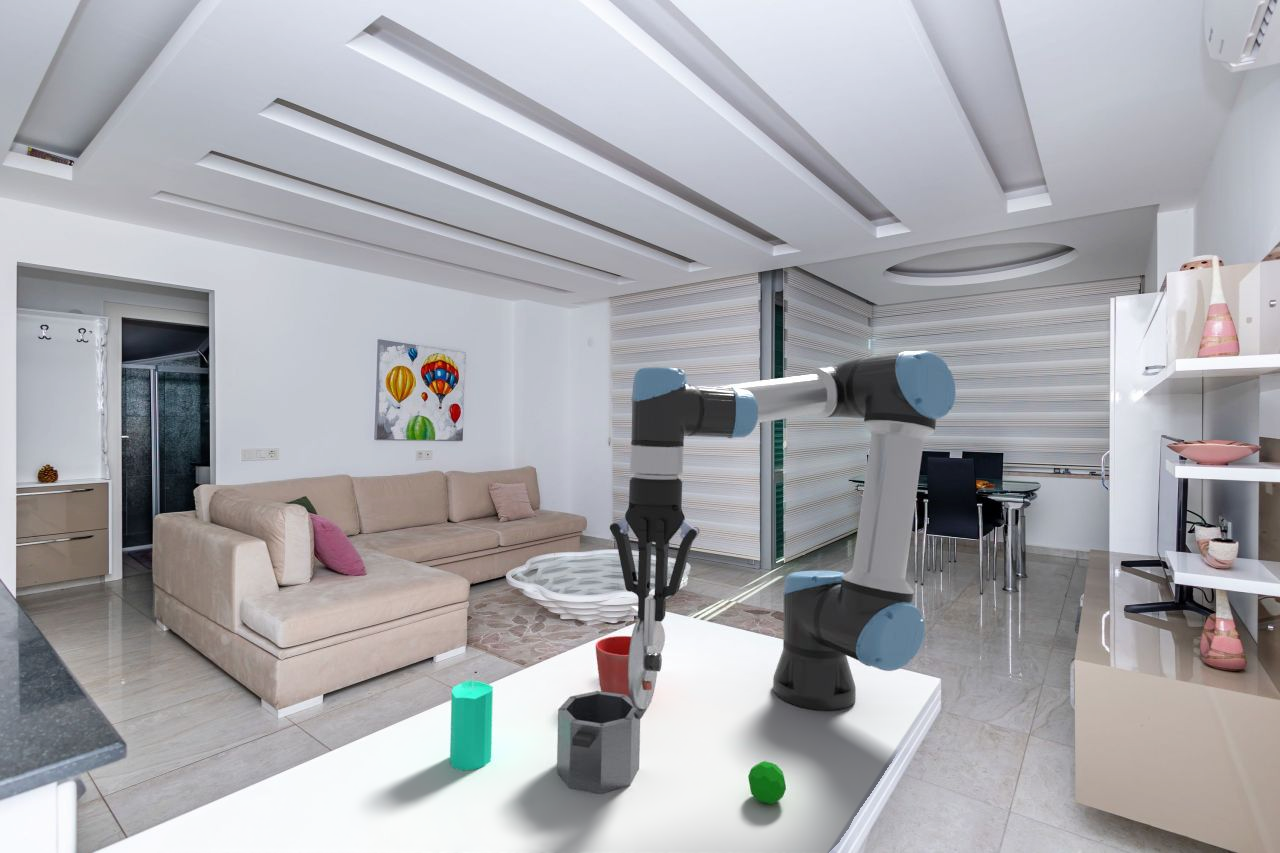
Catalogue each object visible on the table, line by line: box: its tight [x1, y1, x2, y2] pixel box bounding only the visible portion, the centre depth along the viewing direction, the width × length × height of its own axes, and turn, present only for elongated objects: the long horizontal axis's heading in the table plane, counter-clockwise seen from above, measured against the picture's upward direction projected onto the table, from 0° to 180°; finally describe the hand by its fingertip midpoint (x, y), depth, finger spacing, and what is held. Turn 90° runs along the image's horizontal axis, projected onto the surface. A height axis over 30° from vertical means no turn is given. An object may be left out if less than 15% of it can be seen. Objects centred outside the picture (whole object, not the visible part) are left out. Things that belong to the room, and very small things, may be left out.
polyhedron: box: [747, 760, 787, 805], centre depth 84 cm, size 5×5×5 cm
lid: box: [628, 617, 663, 720], centre depth 89 cm, size 13×12×3 cm
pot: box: [556, 690, 641, 795], centre depth 91 cm, size 11×15×9 cm
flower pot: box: [595, 635, 632, 699], centre depth 116 cm, size 11×11×10 cm
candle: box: [449, 677, 494, 771], centre depth 93 cm, size 6×6×12 cm
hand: (650, 642), depth 89 cm, fingers closed
